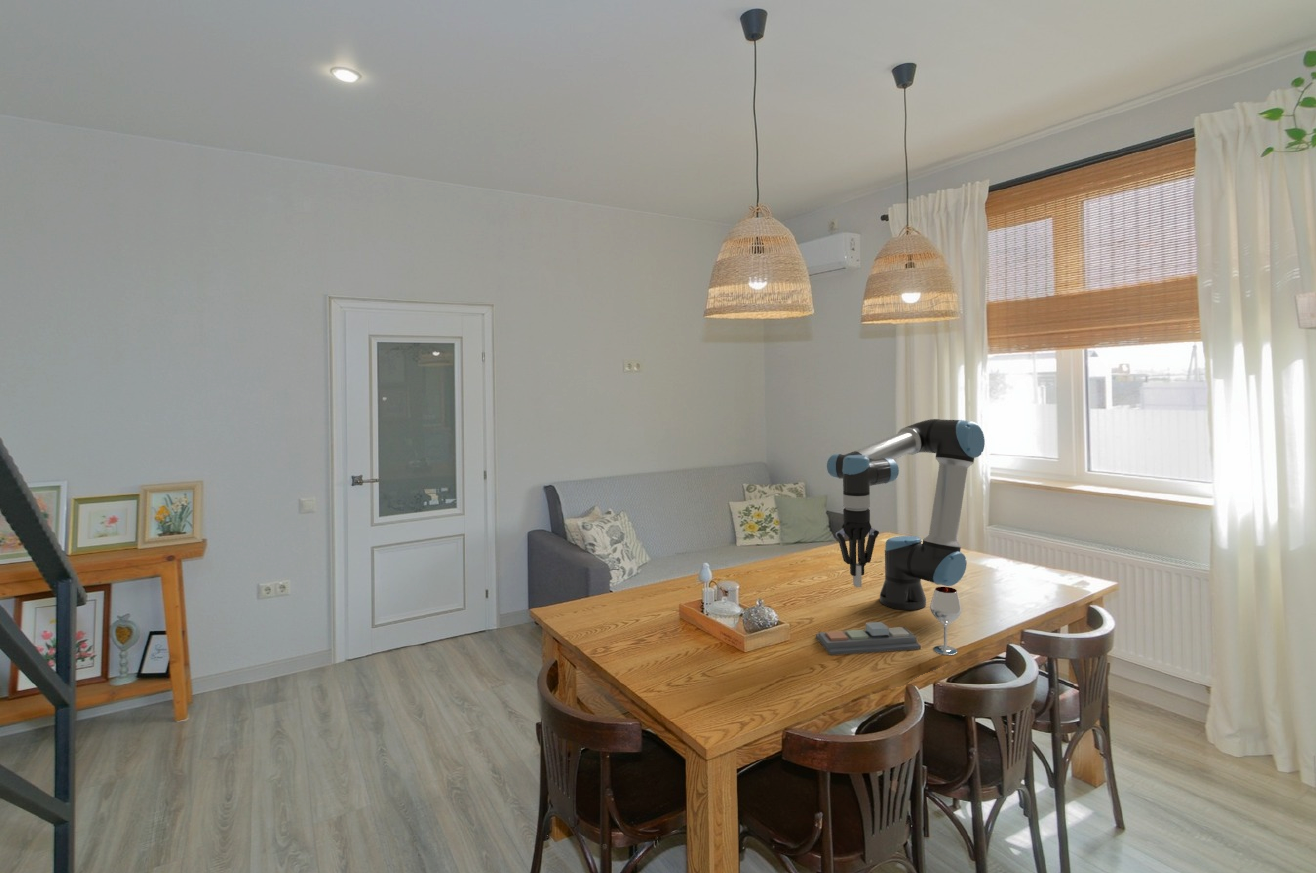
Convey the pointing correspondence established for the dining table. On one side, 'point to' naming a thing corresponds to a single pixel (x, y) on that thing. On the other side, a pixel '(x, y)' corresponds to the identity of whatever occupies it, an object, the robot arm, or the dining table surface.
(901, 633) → the key ivory
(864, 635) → the key sage
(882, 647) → the keypad
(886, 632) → the key bluegrey
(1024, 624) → the dining table surface
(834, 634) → the key terracotta
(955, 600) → the wineglass
